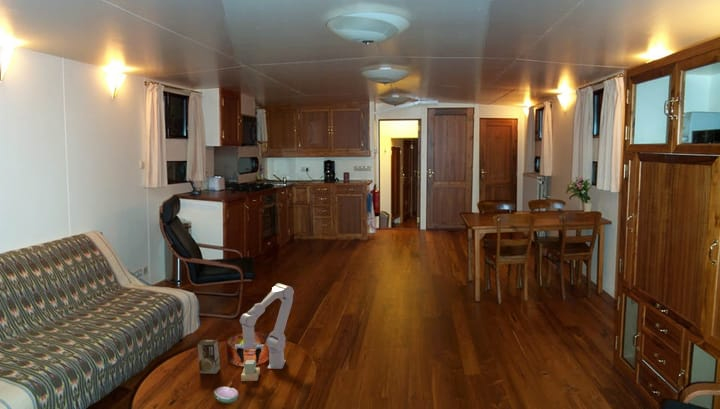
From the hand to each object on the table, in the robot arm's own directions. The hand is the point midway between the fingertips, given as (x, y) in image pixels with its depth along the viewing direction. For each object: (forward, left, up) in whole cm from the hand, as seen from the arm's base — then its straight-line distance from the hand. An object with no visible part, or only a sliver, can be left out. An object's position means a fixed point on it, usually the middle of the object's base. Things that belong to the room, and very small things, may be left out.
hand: (250, 362), depth 255 cm
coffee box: (-6, -24, -8) cm, 26 cm away
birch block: (0, 0, -8) cm, 8 cm away
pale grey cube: (0, 0, -5) cm, 5 cm away
